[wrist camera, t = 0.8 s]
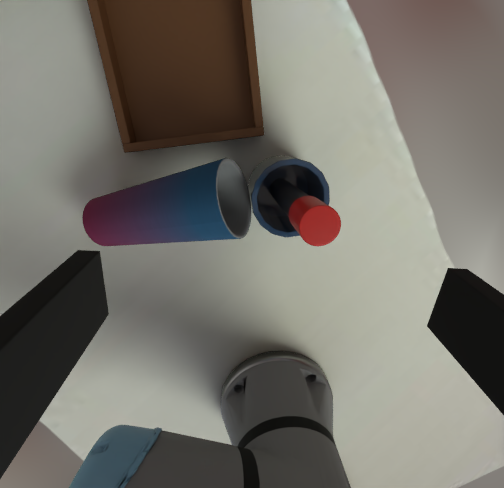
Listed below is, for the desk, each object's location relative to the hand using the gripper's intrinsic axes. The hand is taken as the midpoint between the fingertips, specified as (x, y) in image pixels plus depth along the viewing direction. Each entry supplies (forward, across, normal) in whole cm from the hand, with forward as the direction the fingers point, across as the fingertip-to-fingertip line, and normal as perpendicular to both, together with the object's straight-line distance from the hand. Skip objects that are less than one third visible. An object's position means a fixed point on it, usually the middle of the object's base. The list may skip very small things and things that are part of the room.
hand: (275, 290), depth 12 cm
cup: (+20, +15, +5) cm, 26 cm away
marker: (+23, -3, +1) cm, 23 cm away
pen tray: (+24, +8, -13) cm, 29 cm away
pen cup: (+23, -3, +1) cm, 24 cm away
